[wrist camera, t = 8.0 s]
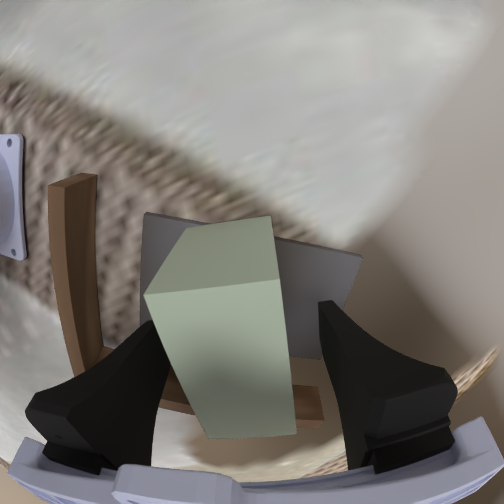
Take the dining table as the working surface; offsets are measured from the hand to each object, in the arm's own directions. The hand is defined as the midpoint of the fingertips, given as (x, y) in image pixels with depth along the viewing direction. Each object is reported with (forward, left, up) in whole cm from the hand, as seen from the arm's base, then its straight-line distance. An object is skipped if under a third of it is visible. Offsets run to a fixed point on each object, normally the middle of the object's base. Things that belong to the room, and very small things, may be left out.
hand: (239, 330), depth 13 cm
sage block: (0, 0, -3) cm, 3 cm away
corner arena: (-1, -1, -3) cm, 4 cm away
